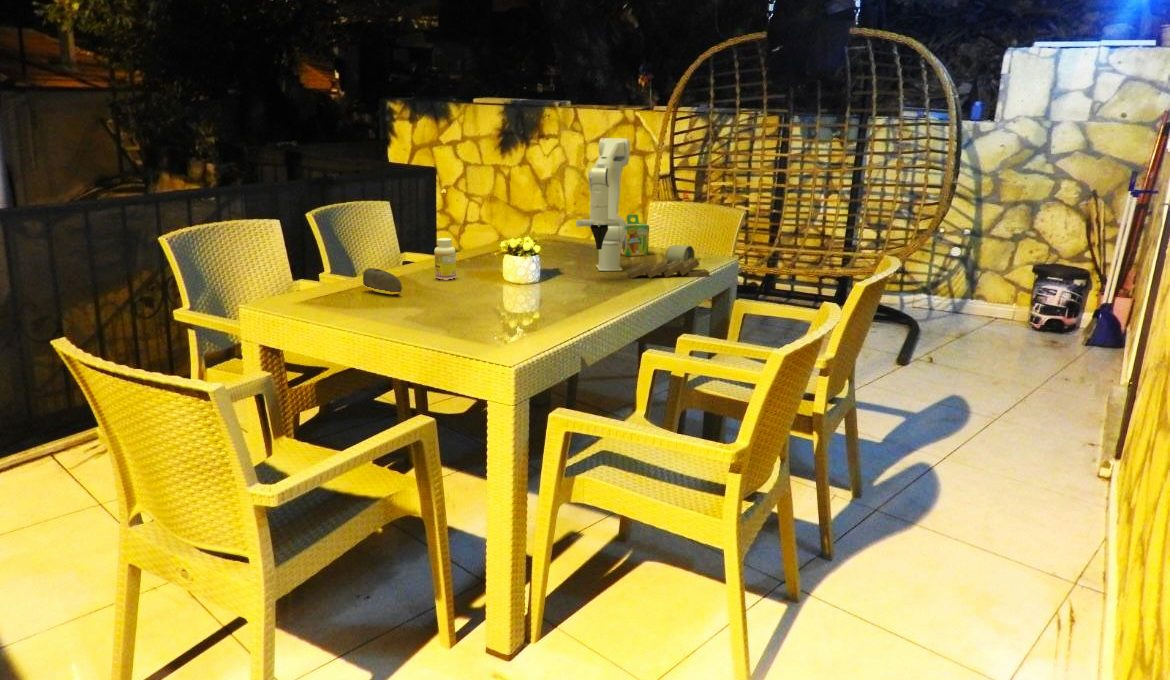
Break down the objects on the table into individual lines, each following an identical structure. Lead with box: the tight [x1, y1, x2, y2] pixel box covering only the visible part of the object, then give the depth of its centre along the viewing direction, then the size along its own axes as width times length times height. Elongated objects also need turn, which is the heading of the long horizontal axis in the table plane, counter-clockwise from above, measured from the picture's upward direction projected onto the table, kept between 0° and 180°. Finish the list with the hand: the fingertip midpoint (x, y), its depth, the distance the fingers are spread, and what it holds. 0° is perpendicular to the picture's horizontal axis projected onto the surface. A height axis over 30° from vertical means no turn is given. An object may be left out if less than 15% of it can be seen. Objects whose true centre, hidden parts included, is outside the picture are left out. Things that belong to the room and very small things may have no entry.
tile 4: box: [675, 257, 700, 277], centre depth 281 cm, size 5×2×7 cm
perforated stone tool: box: [362, 267, 403, 293], centre depth 251 cm, size 15×5×7 cm, turn 51°
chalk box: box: [620, 214, 650, 257], centre depth 317 cm, size 9×9×15 cm
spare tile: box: [626, 262, 651, 279], centre depth 278 cm, size 5×2×7 cm
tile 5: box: [685, 268, 710, 278], centre depth 281 cm, size 5×2×7 cm
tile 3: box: [660, 260, 685, 278], centre depth 280 cm, size 5×2×7 cm
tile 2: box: [644, 260, 668, 279], centre depth 278 cm, size 5×2×7 cm
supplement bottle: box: [433, 237, 457, 280], centre depth 272 cm, size 7×7×13 cm
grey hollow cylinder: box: [664, 244, 695, 265], centre depth 295 cm, size 11×8×8 cm
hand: (598, 249), depth 271 cm, fingers closed
